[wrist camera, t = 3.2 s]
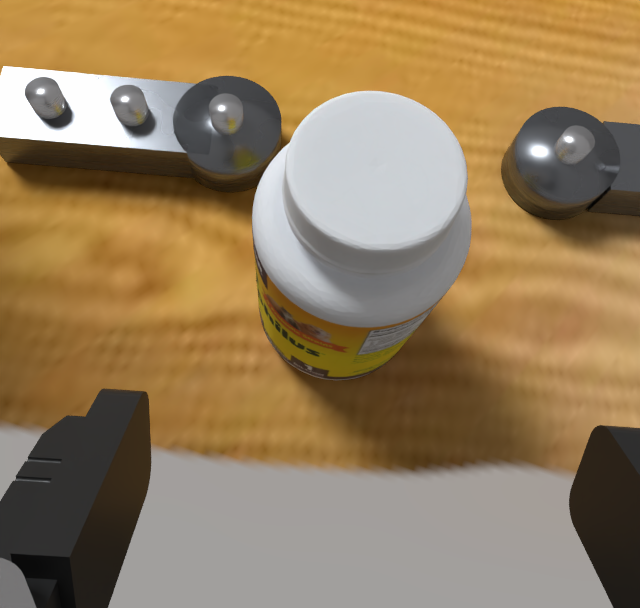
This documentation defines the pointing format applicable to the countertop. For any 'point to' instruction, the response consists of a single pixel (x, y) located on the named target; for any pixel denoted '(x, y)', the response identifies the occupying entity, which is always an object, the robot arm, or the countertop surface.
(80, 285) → the countertop surface
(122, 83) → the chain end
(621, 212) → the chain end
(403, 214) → the supplement bottle
